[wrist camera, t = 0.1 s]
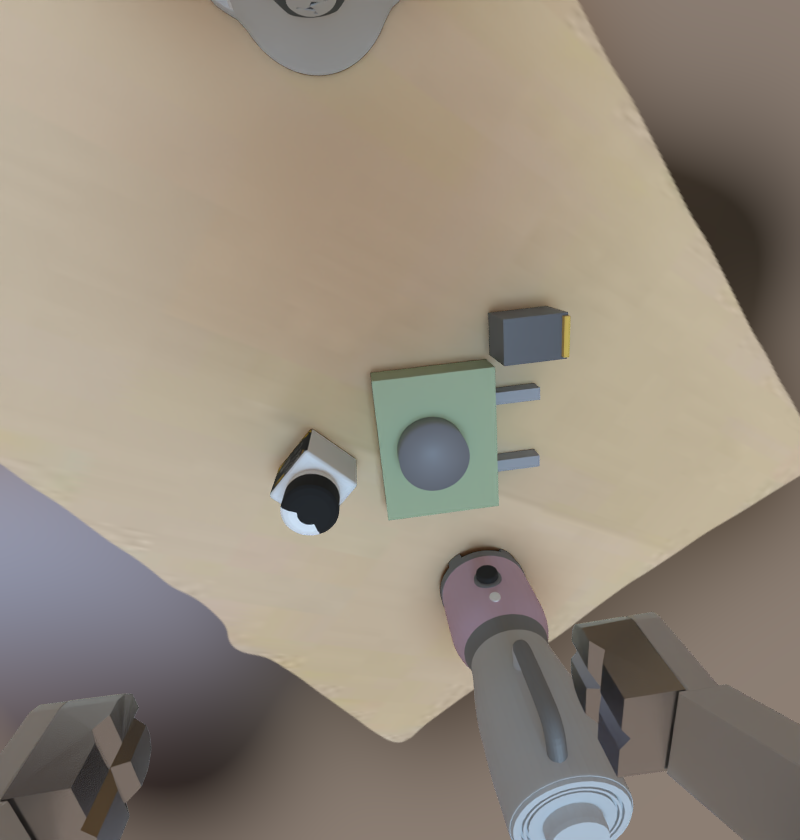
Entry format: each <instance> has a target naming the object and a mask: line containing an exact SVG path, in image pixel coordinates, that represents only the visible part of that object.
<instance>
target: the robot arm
mask: <svg viewBox="0 0 800 840" xmlns="http://www.w3.org/2000/svg"><path fill="white" fill-rule="evenodd" d="M211 1H212V2H213V3H214V4H215V5H216V6H217V7H219V8H220V9H221V10H223V11H224V12H226V13H227V14H229V15H231V16H232V17H234V18H236V19H237V20H238V21H239V22H240V23H241V24H242V25H243V26H244V27H245V29H246V30H247V31H248V33H249V34H250V35H251V37H252V38H253V39H254V41H255V42H256V43H257V44H258V46H259V47H260V48H261V49H262V50H263V51H264V52H265V53H266V54H267V55H269V56H270V57H271V58H272V59H273V60H275V61H276V62H278V63H279V64H281V65H283V66H284V67H286V68H288V69H291V70H293V71H296V72H299V73H303V74H308V75H328V74H333V73H336V72H340V71H342V70H344V69H346V68H348V67H350V66H352V65H353V64H355V63H356V62H357V61H359V60H360V59H361V58H362V57H363V56H364V55H365V54H366V53H367V52H368V51H369V50H370V48H371V47H372V46H373V44H374V43H375V41H376V39H377V38H378V36H379V34H380V32H381V30H382V27H383V25H384V23H385V20H386V18H387V16H388V14H389V12H390V10H391V9H392V7H393V6H394V5H396V4H397V3H398V2H399V1H400V0H211ZM572 642H573V644H574V645H575V647H576V649H577V652H576V653H575V655H574V656H573V657H572V658H571V674H572V679H573V684H574V689H575V691H576V694H577V697H578V700H579V702H580V704H581V706H582V708H583V710H584V712H585V714H586V715H587V716H588V717H590V718H591V719H593V720H594V721H595V722H597V723H598V740H599V742H600V744H601V746H602V748H603V750H604V752H605V754H606V756H607V758H608V760H609V762H610V764H611V766H612V768H613V770H614V772H615V774H616V776H617V778H618V777H625V776H632V775H640V774H647V773H654V772H662V771H667V774H668V775H669V776H670V777H671V778H673V779H674V780H675V781H676V782H677V783H678V784H679V785H681V786H682V787H683V788H684V789H685V790H686V791H687V792H689V793H690V794H691V795H692V796H694V798H696V799H697V800H698V801H699V802H700V803H701V804H703V805H704V806H705V807H706V808H707V809H708V810H710V811H711V812H712V813H713V814H714V815H715V816H717V817H718V818H719V819H720V820H721V821H722V822H724V823H725V824H726V825H727V826H728V827H729V828H730V829H732V830H733V831H734V832H735V833H736V834H737V835H739V836H740V837H741V838H742V839H743V840H800V724H799V723H797V722H795V721H793V720H791V719H789V718H788V717H785V716H784V715H782V714H780V713H778V712H777V711H774V710H773V709H771V708H769V707H767V706H765V705H764V704H762V703H760V702H758V701H756V700H755V699H753V698H751V697H749V696H747V695H745V694H744V693H742V692H740V691H738V690H736V689H734V688H732V687H731V686H729V685H718V684H717V683H716V682H715V681H714V680H713V678H712V677H711V676H710V675H709V674H708V672H707V671H706V670H705V669H704V668H703V667H702V666H701V664H700V663H699V662H698V661H697V660H696V658H695V657H694V656H693V655H692V654H691V653H690V651H689V650H688V649H687V648H686V647H685V645H684V644H683V643H682V642H681V641H680V640H679V639H678V637H677V636H676V635H675V634H674V632H673V631H672V630H671V629H670V628H669V627H668V625H667V624H666V623H665V622H664V621H663V620H662V618H661V617H660V616H659V615H657V614H656V613H654V612H650V613H644V614H637V615H631V616H626V617H618V618H611V619H605V620H600V621H594V622H587V623H581V624H575V626H574V627H573V630H572ZM138 708H139V707H138V705H137V703H136V701H135V698H134V696H133V694H118V695H110V696H104V697H95V698H87V699H79V700H71V701H66V702H59V703H51V704H43V705H39V706H38V707H37V708H35V709H34V710H33V711H31V712H30V713H29V714H28V716H27V717H26V718H25V720H24V721H23V723H22V724H21V726H20V727H19V728H18V730H17V731H16V733H15V734H14V735H13V737H12V738H11V740H10V741H9V742H8V744H7V745H6V747H5V748H4V749H3V751H2V752H1V754H0V840H120V839H121V836H122V834H123V831H124V829H125V826H126V823H127V821H128V819H129V812H128V808H127V804H126V802H127V801H128V800H129V799H130V798H131V797H132V796H133V795H134V794H135V793H136V792H137V790H138V789H139V788H140V787H141V786H142V783H143V781H144V778H145V775H146V773H147V770H148V766H149V760H150V754H151V741H150V734H149V731H148V729H147V726H146V725H145V724H144V723H142V722H140V721H139V720H137V719H135V718H134V716H135V714H136V712H137V710H138Z"/></svg>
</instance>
